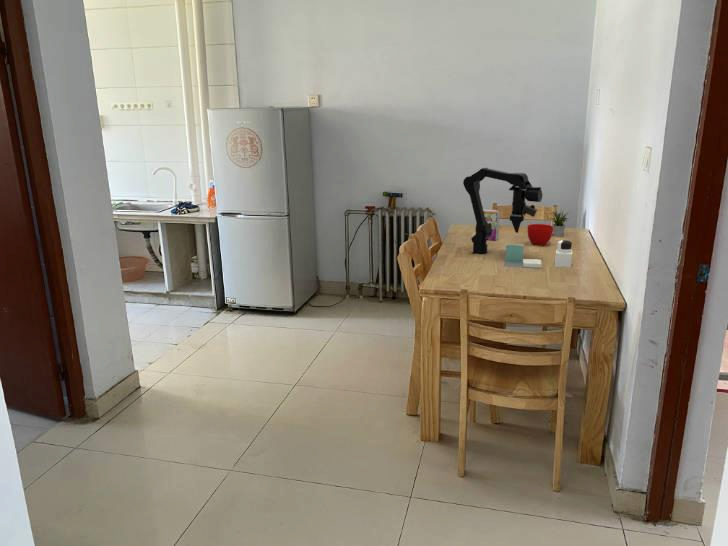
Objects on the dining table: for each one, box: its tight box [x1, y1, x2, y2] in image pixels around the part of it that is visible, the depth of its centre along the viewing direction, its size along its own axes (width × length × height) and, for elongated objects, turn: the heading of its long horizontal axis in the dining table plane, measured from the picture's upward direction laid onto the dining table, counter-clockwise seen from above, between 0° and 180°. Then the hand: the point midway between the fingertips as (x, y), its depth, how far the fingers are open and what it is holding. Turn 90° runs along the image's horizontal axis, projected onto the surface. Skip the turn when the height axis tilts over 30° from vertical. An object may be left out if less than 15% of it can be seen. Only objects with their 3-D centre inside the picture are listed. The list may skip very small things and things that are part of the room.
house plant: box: [547, 207, 571, 238], centre depth 325 cm, size 14×14×16 cm
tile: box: [504, 243, 525, 262], centre depth 271 cm, size 8×2×8 cm, turn 71°
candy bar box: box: [483, 208, 501, 242], centre depth 318 cm, size 11×5×16 cm, turn 58°
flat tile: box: [523, 258, 543, 269], centre depth 263 cm, size 8×8×2 cm
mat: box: [503, 260, 541, 270], centre depth 268 cm, size 16×16×1 cm
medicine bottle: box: [554, 239, 573, 269], centre depth 263 cm, size 7×7×12 cm
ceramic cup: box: [527, 223, 553, 247], centre depth 306 cm, size 13×17×10 cm
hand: (516, 232), depth 275 cm, fingers closed
